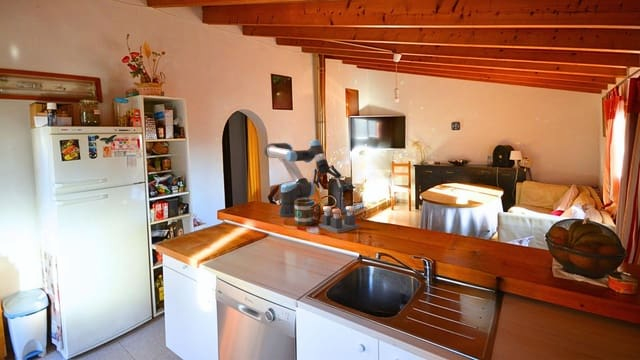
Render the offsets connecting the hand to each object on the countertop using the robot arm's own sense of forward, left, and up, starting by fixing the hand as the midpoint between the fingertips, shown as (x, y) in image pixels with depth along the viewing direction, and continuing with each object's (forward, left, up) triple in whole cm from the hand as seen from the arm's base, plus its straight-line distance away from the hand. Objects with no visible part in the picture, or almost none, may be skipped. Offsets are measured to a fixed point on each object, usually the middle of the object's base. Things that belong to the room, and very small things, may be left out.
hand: (330, 189), depth 233 cm
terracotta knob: (+21, -13, -16) cm, 30 cm away
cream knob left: (+21, -2, -16) cm, 27 cm away
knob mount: (+16, -8, -21) cm, 28 cm away
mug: (-3, -17, -21) cm, 28 cm away
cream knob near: (+12, -13, -16) cm, 24 cm away
